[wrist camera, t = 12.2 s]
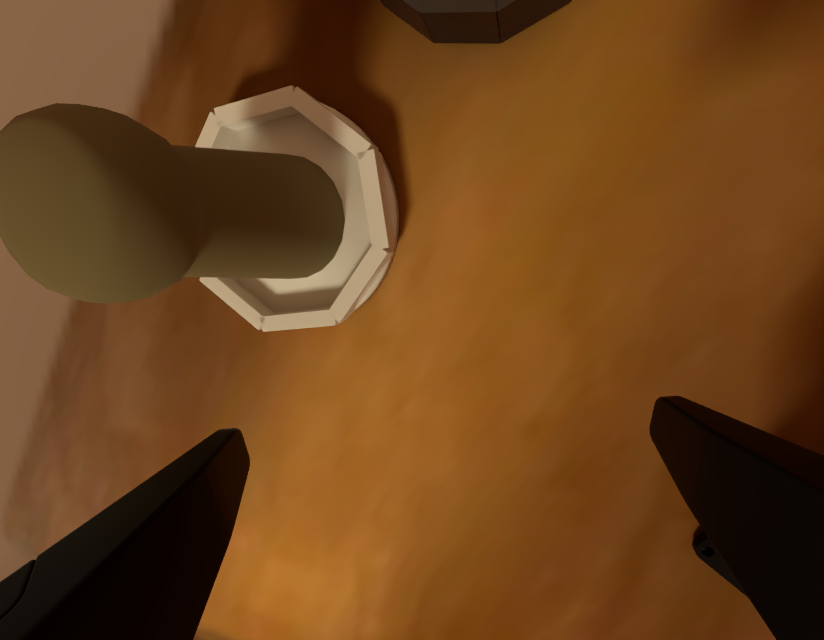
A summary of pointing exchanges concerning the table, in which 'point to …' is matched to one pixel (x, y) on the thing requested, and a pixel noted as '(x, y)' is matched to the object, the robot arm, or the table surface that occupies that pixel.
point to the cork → (154, 207)
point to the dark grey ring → (472, 18)
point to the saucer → (357, 186)
